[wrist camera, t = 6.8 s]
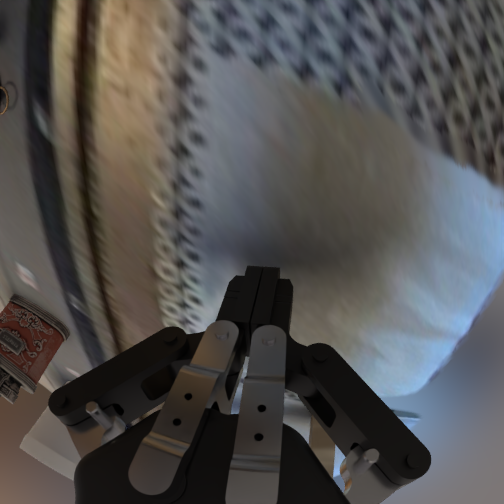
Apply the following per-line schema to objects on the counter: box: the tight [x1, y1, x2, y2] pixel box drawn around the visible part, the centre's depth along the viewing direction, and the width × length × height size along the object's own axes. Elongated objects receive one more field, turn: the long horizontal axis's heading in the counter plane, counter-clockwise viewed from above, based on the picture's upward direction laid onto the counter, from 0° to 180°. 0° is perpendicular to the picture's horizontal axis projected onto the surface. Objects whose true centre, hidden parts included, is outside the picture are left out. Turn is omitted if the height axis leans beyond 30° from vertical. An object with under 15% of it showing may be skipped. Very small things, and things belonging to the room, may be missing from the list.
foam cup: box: [20, 381, 81, 481], centre depth 30 cm, size 10×9×13 cm
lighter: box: [0, 294, 70, 404], centre depth 21 cm, size 8×3×10 cm, turn 72°
